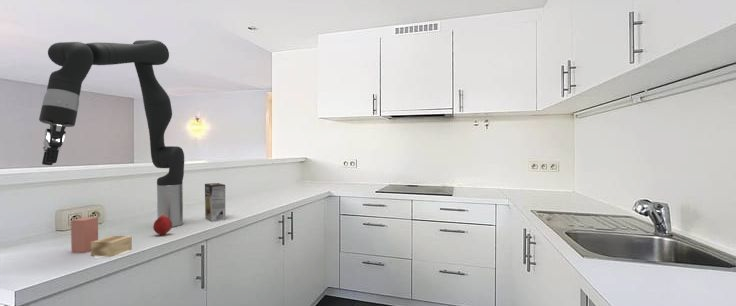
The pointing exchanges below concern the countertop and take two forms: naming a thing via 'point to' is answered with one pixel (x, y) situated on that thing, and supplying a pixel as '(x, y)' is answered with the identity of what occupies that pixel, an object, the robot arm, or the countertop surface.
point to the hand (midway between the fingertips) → (48, 163)
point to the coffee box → (215, 201)
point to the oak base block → (111, 245)
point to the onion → (162, 225)
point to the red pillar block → (83, 234)
